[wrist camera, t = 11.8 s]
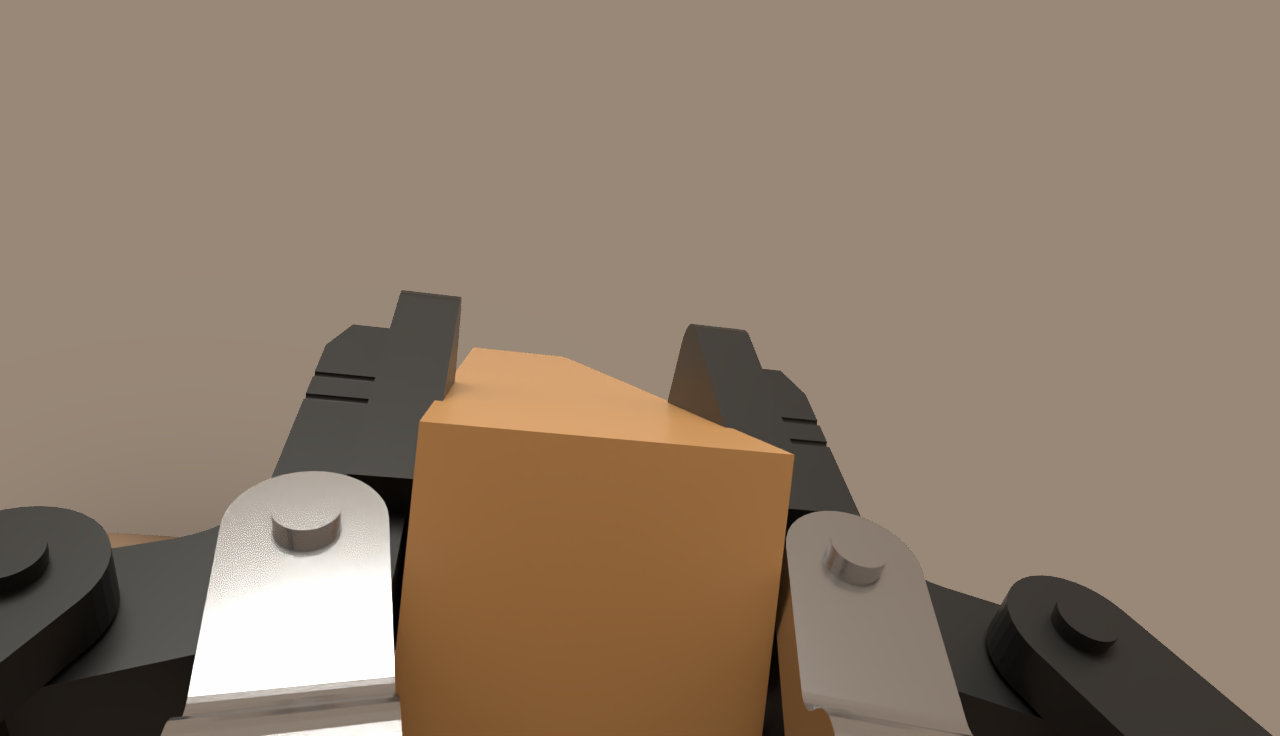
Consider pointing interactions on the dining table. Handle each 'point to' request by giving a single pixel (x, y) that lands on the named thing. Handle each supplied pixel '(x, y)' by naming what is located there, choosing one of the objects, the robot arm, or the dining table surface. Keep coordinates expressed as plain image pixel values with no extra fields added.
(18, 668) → the robot arm
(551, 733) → the orange rectangular block
